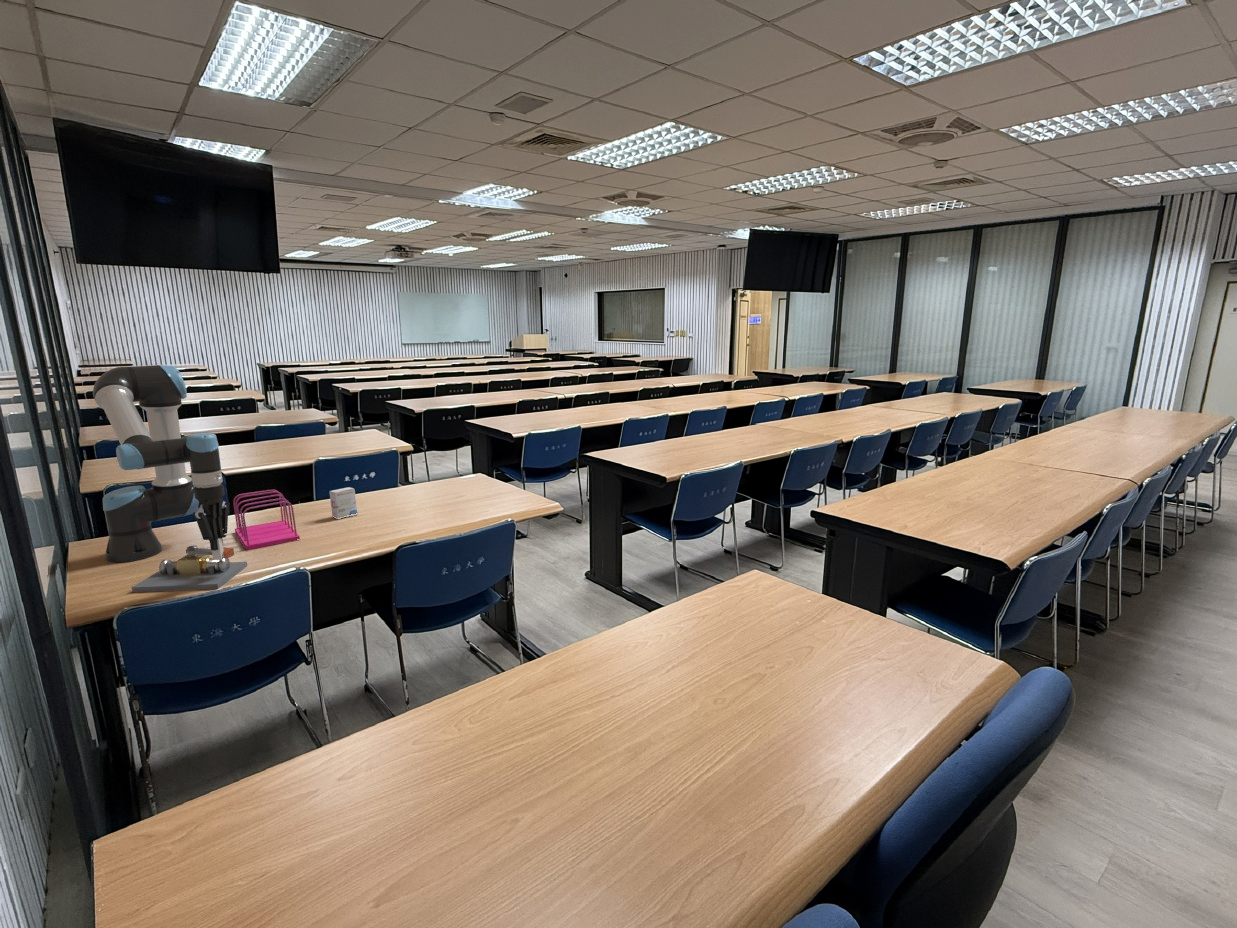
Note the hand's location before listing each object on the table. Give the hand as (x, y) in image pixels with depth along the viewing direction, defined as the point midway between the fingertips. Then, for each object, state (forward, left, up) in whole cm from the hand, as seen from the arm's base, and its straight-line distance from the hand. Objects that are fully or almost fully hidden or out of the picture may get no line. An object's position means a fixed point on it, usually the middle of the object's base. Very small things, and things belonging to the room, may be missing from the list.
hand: (218, 558), depth 186 cm
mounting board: (-10, +3, -7) cm, 13 cm away
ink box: (+16, +65, -8) cm, 67 cm away
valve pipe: (-10, +5, -7) cm, 13 cm away
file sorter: (-5, +42, -8) cm, 44 cm away
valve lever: (-5, +4, -1) cm, 6 cm away
